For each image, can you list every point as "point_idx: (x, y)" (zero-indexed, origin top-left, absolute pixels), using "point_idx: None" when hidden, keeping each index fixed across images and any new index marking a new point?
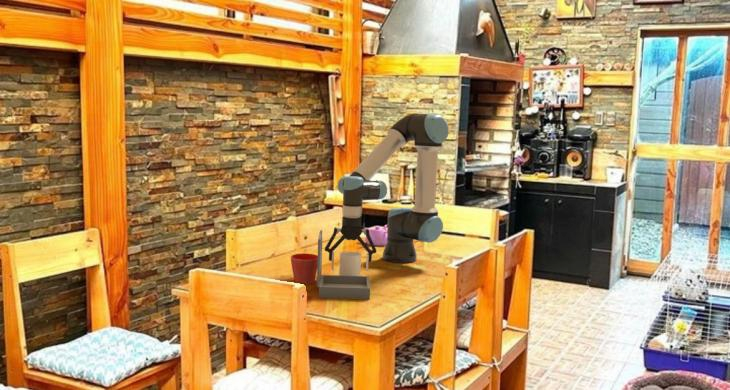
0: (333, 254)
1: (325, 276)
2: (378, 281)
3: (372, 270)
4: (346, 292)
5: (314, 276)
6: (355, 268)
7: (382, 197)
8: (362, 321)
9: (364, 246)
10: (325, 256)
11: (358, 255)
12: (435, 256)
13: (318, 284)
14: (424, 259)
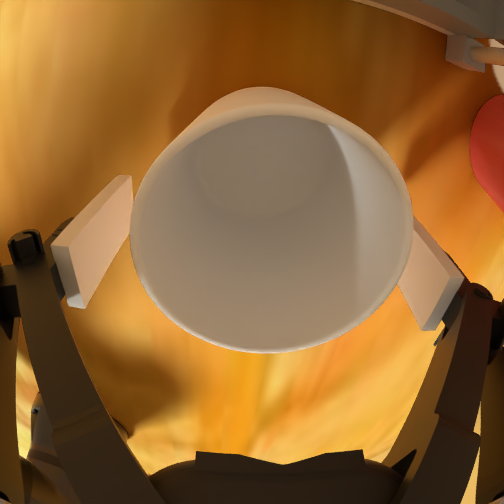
0: (448, 270)
1: (468, 10)
2: (77, 122)
3: (130, 333)
4: None
5: (496, 112)
6: (221, 101)
7: None
8: None
9: (53, 328)
10: (303, 446)
11: (160, 154)
12: (19, 414)
13: None
14: (26, 404)
